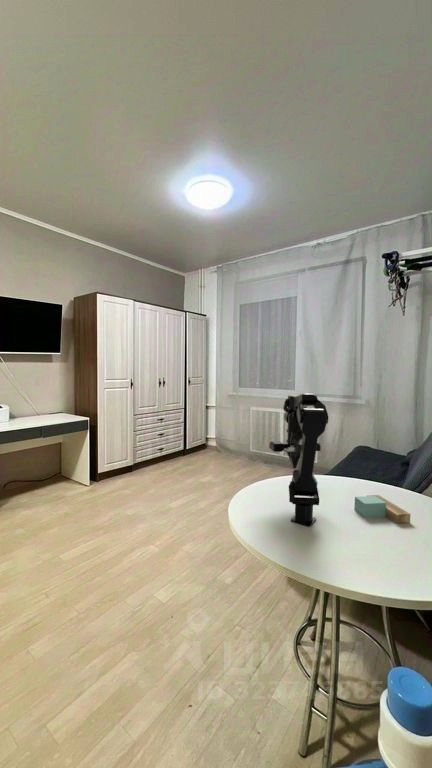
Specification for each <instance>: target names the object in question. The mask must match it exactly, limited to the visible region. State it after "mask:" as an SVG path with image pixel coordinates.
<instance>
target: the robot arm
mask: <svg viewBox="0 0 432 768" xmlns="http://www.w3.org/2000/svg"><path fill="white" fill-rule="evenodd" d="M308 407H313V408H308ZM282 408H283V409H282V410H283V411H284V412H285V413H284V415H283V419H284V421H285V422H286V423H287V428H286V433H287V439H286V441H285V442H286V443H283V442H281V441H278V440H277V441H276V440H273V441H270V442H269V446H268V448H269V449H270V450H271V451H272V452H273V453H274V452H275V453H278V452H283V451H284V452H286V454H287V457H288V458H289V461H290V464H291V466H292V469H293V471H292V477H291V481H290V482H289V485H288V494H289V495H288V497H289V502H290V503H291V504H292V505H294V516H293V517H291V518H290V521H291V522H294V523H296V524H299V525H303V526H306V527H311V526H312V525H313V523H315V522H316V521H317V518H316V517H314V516H313V514H314V511H313V510H314V506H320V496H319V495H320V494H319V490H318V484H316V482H315V479H314V477H315V475H314V474H313V473H314V466H315V461H316V455H317V452H320V451H321V444H320V443H319V442H318V440H319V438H320V436H322V434H324V432H325V431H326V427H327V425H328V423H329V414H328V411H327V407H326V405H325V404H324V403H323V402H322V401H320V400H319V399H318V396H317V394H316V393H310V392H309V393H305V392H304V393H300V394H298V395H293V394H292V395H291V394H290V395H289V394H288V395H287V397H286V398H285V400H284V402H283V407H282ZM297 466H298V469H297ZM313 475H314V476H313Z"/></svg>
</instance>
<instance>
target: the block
mask: <svg viewBox="0 0 432 768" xmlns="http://www.w3.org/2000/svg"><path fill="white" fill-rule="evenodd" d="M353 509H354V511H355V512H357V514H359V515H360V516H361V517H363V518H364V519H365V518H387V517H386V502H384V501H383V500H381V499H379V498H378V497H376V496H368V495H364V496H355V497H354V508H353Z"/></svg>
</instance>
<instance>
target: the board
mask: <svg viewBox="0 0 432 768" xmlns="http://www.w3.org/2000/svg"><path fill="white" fill-rule="evenodd" d="M367 496H376V497H378V498H379V499H381V500H383V501H384V502H386V517H385V518H388V519H389V520H391V522H394V524H396V525H397V524H410V523H411V513H409V512H408V511H406V510H405V509H403V508H401V507H400V506H398V505H396V504H395V503H393V502H391V501H389V500H388V499H387V498H385V497H383V496H381V495H379V494H374V495H370V494H369V495H367Z"/></svg>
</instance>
